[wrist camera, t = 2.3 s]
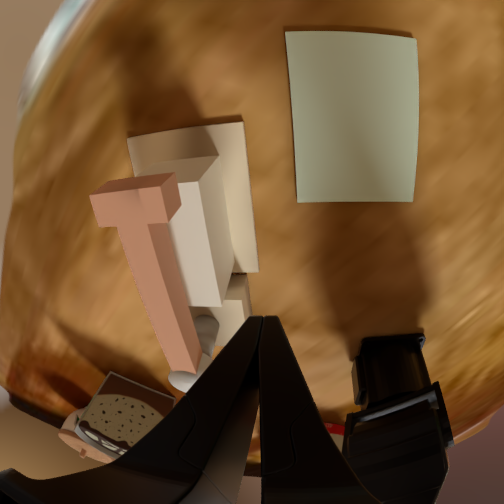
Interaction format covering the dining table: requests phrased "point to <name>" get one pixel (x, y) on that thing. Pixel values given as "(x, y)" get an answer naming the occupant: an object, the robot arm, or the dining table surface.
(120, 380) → the food container
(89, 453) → the lidded jar
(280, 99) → the dining table surface
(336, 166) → the mat
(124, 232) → the latch bar
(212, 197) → the block
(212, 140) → the housing
